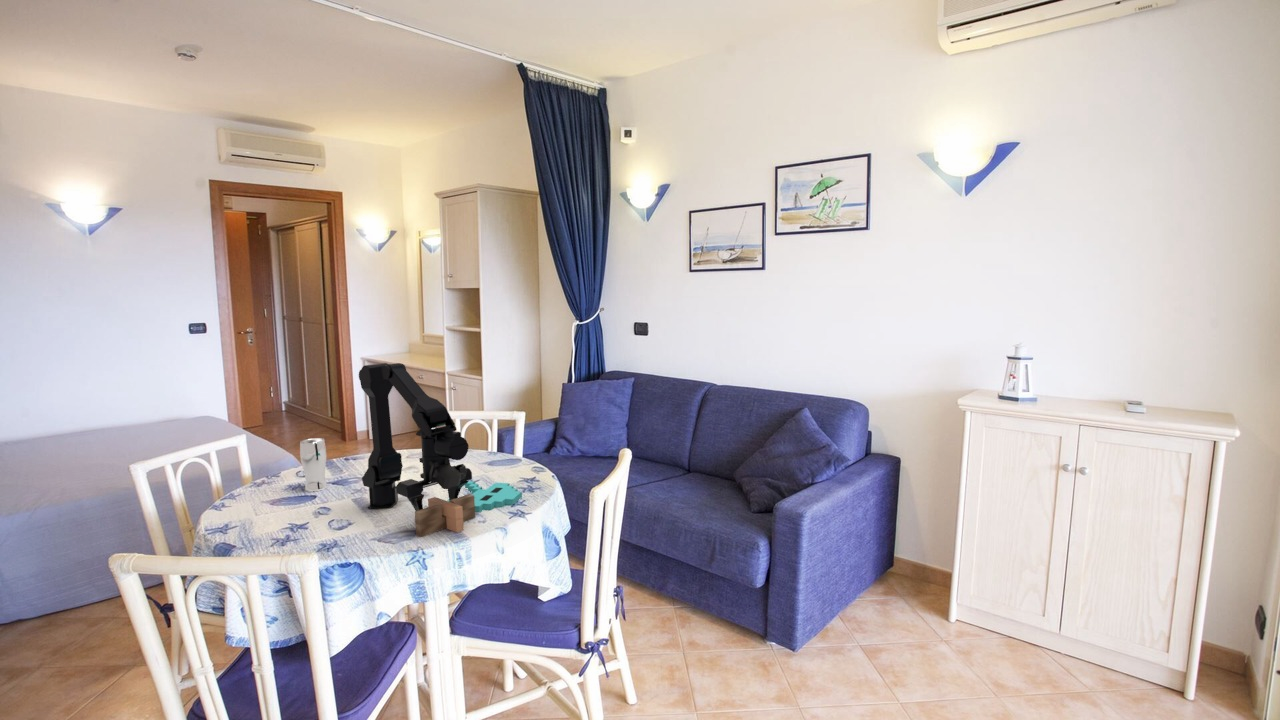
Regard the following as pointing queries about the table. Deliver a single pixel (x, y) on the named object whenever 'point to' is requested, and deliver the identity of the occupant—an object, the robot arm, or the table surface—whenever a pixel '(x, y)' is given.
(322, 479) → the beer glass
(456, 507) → the terracotta u-shaped block
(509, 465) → the table surface
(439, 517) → the notched wooden block
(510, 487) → the alien figure
